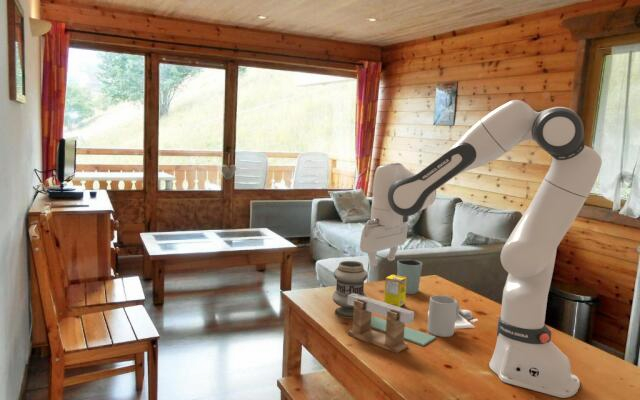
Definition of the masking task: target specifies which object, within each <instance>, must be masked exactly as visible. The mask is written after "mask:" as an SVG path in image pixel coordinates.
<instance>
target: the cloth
mask: <svg viewBox="0 0 640 400" xmlns="http://www.w3.org/2000/svg"><path fill="white" fill-rule="evenodd" d="M428 316H429V310H428V311H427V317H428ZM478 321H479V319H478V318H473V313H472V311H471V310H468V309H461V308H460V310H459V316H458V318H457V320H456V321H455V327H454V330H456V329H459V330H460V329H474V328H476V326H475V325H474V324H475V323H476V322H478ZM472 323H474V324H472Z"/></svg>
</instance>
